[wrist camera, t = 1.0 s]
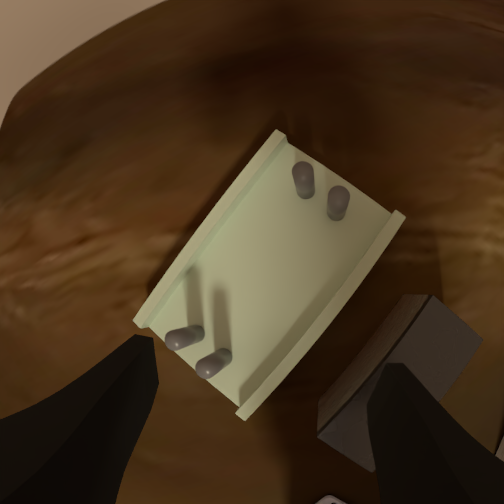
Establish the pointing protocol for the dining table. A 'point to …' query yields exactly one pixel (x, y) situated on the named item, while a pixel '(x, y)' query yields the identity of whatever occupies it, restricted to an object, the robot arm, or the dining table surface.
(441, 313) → the block
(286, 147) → the tray
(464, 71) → the dining table surface
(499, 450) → the supplement box
